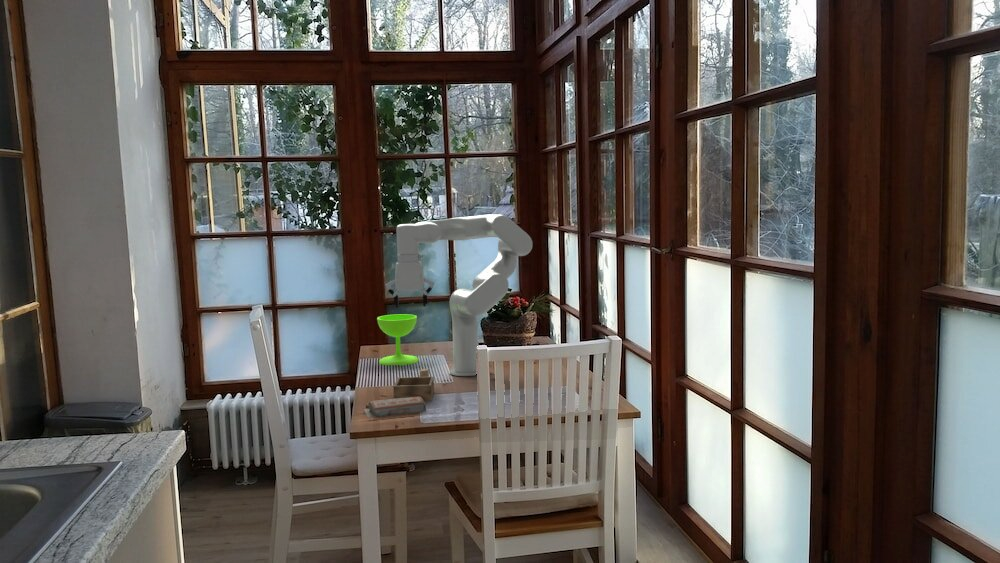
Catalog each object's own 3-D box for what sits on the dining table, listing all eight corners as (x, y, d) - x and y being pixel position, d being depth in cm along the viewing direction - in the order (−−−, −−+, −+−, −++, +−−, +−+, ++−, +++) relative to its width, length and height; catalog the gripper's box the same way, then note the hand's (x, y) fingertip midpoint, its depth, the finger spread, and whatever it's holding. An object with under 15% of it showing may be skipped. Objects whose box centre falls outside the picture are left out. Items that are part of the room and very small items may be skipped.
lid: (444, 384, 273) (443, 365, 273) (442, 393, 260) (441, 373, 260) (407, 385, 273) (407, 366, 272) (404, 394, 260) (403, 374, 259)
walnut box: (434, 394, 258) (433, 376, 257) (431, 403, 246) (431, 385, 245) (398, 395, 258) (397, 377, 257) (394, 404, 246) (393, 386, 245)
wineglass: (424, 357, 317) (422, 314, 315) (409, 366, 301) (407, 320, 299) (388, 356, 321) (386, 313, 319) (372, 364, 306) (370, 320, 304)
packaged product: (420, 393, 242) (427, 400, 233) (421, 408, 243) (428, 416, 233) (363, 399, 237) (367, 407, 227) (363, 414, 237) (368, 423, 228)
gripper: (433, 256, 277) (435, 304, 279) (384, 259, 276) (387, 306, 278) (432, 258, 269) (435, 307, 271) (383, 260, 268) (385, 309, 270)
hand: (411, 306), depth 274 cm, fingers open, 9 cm apart
